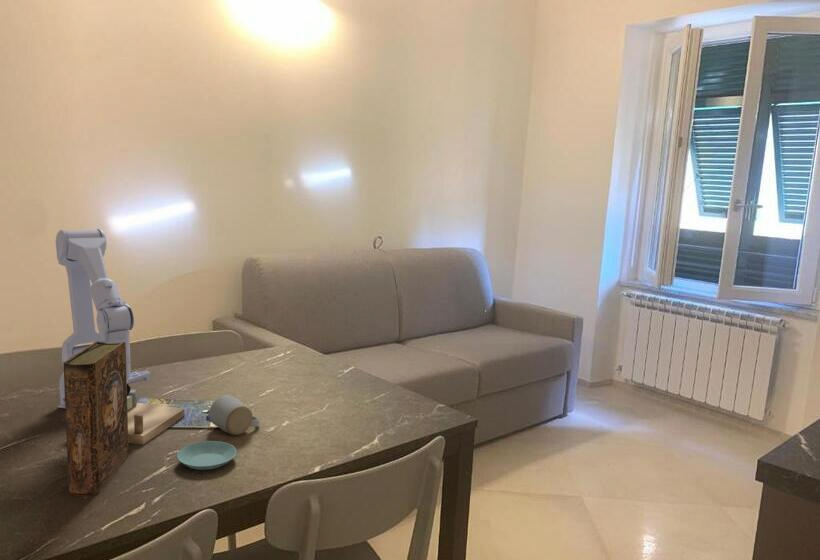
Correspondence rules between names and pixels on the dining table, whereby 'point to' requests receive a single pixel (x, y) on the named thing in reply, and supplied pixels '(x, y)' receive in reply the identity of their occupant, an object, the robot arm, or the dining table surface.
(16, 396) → the dining table surface
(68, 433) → the book
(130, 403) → the leg
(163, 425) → the stool seat
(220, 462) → the saucer
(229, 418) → the ceramic mug
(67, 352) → the robot arm
